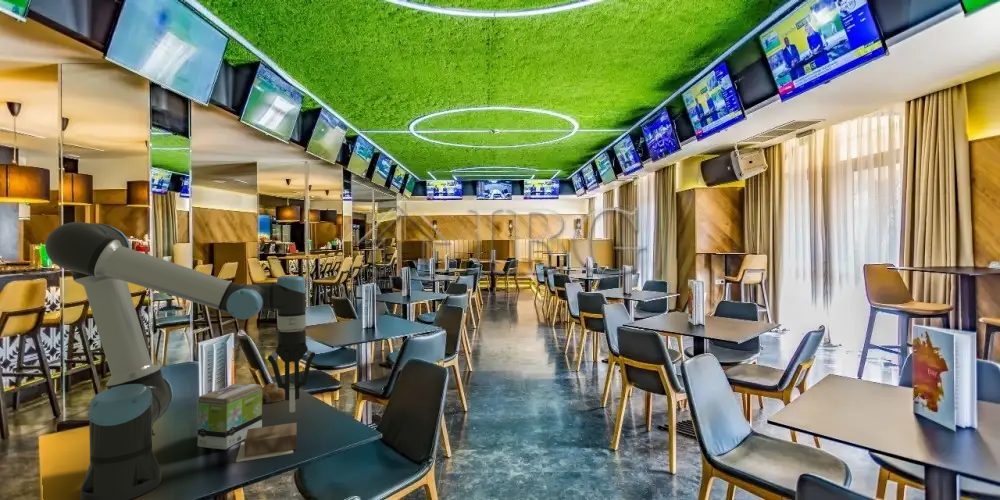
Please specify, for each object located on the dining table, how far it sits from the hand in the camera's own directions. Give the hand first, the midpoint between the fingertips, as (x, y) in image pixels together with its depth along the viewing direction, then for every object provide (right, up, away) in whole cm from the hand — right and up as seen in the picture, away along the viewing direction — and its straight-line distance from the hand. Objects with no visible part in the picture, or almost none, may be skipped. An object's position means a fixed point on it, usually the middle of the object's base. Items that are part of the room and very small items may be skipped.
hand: (292, 410), depth 139 cm
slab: (+1, -7, +1) cm, 7 cm away
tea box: (-20, -10, +5) cm, 23 cm away
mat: (-6, -10, -2) cm, 12 cm away
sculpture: (-46, -11, +8) cm, 48 cm away
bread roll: (-25, -10, +41) cm, 49 cm away
